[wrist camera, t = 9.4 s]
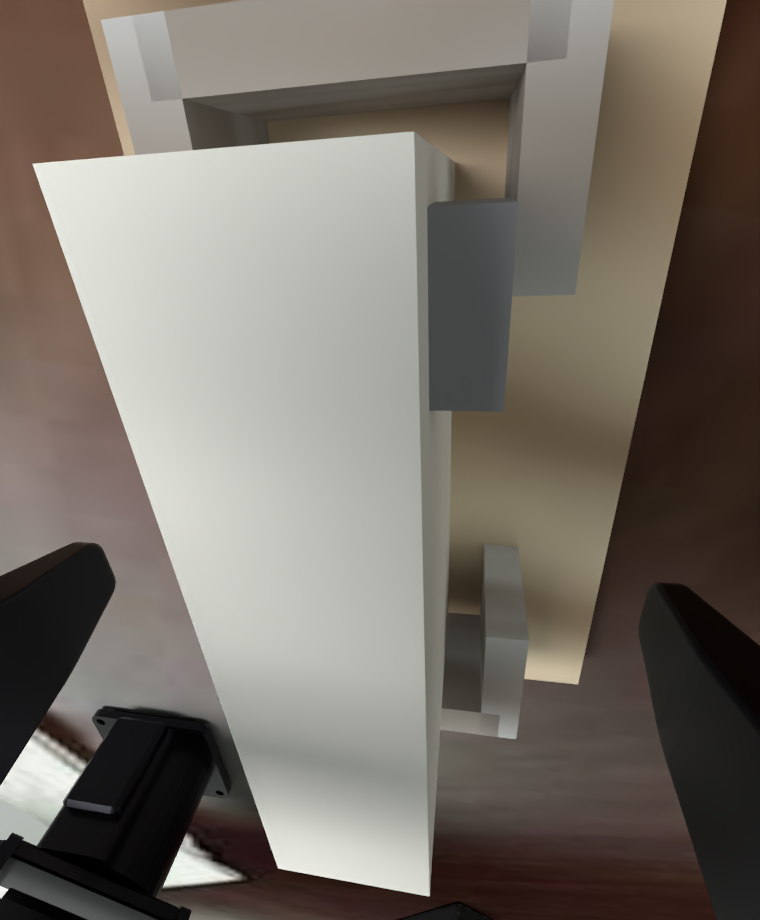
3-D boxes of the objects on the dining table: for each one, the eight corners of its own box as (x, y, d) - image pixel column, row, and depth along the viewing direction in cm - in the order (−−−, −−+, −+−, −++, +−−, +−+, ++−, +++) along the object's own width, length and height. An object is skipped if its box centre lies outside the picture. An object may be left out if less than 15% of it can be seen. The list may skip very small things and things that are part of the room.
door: (473, 591, 16) (472, 904, 9) (359, 583, 17) (278, 868, 10) (494, 159, 10) (537, 121, 3) (315, 172, 11) (30, 163, 4)
